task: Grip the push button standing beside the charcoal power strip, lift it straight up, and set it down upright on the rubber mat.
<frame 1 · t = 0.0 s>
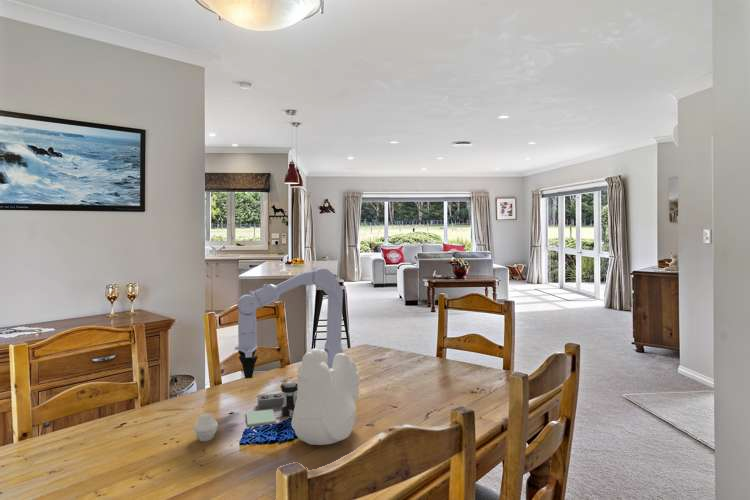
hand: (248, 374, 149), 10 cm above the table, tool pointing down, fingers open, 7 cm apart
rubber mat: (260, 418, 139), on the table
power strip: (286, 404, 151), on the table
grey rounded lump: (206, 439, 125), on the table
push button: (287, 415, 141), on the table
white rounded upright lump: (333, 436, 126), on the table
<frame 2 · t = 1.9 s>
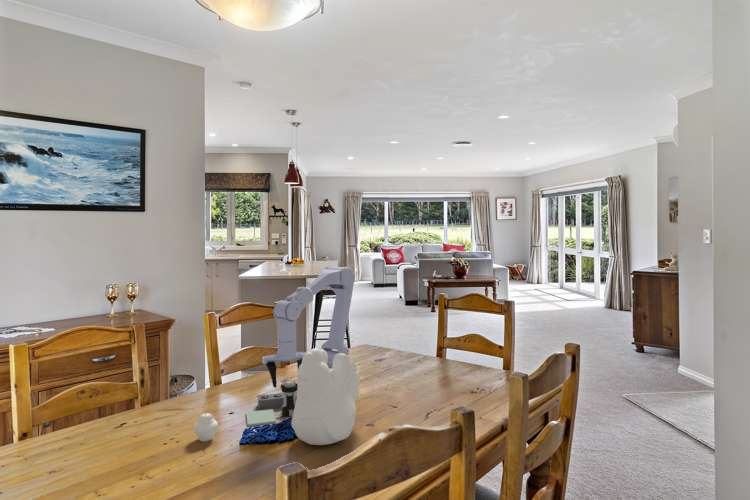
hand: (287, 384, 141), 9 cm above the table, tool pointing down, fingers open, 7 cm apart
nothing on the table moved.
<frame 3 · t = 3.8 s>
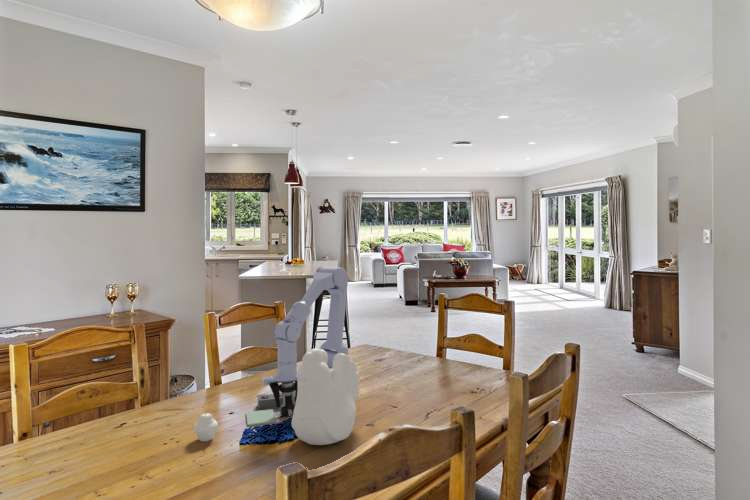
hand: (287, 405, 141), 3 cm above the table, tool pointing down, fingers closed on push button, 5 cm apart
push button: (286, 415, 141), on the table, touching gripper
everything else where it was.
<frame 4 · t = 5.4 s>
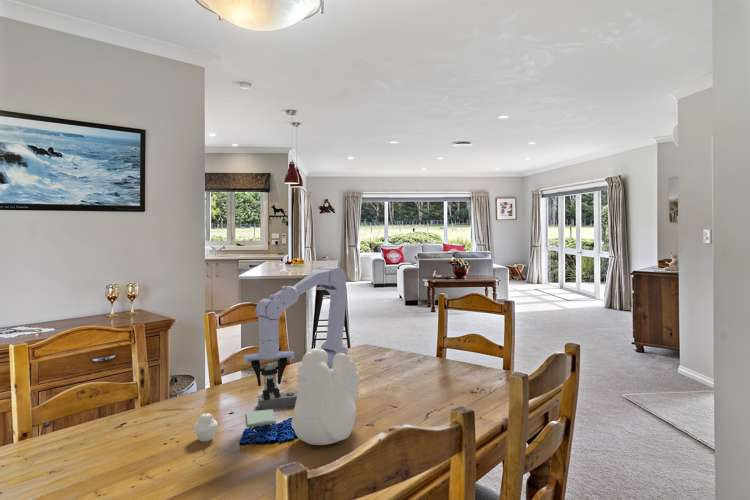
hand: (269, 384, 140), 10 cm above the table, tool pointing down, fingers closed on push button, 5 cm apart
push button: (269, 399, 139), point 6 cm above the table, touching gripper
everything else where it was.
when the fingers open (4 cm above the table, at t = 7.2 s): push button stays where it is, resting on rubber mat.
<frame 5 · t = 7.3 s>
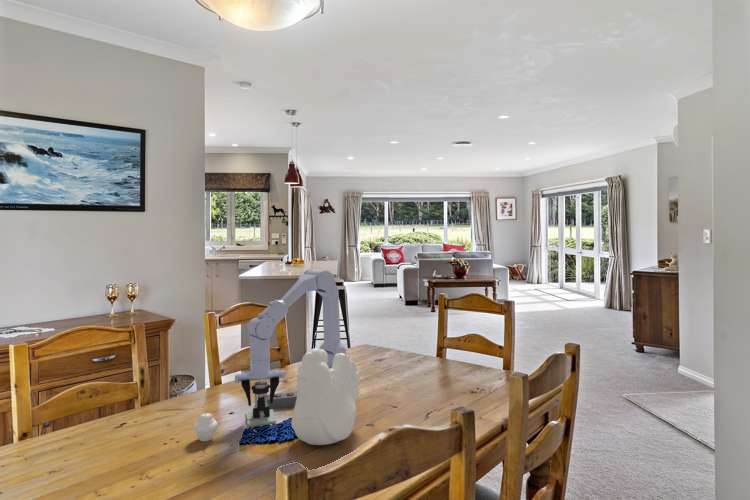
hand: (260, 403, 139), 4 cm above the table, tool pointing down, fingers open, 6 cm apart
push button: (258, 417, 139), resting on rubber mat
everything else where it was.
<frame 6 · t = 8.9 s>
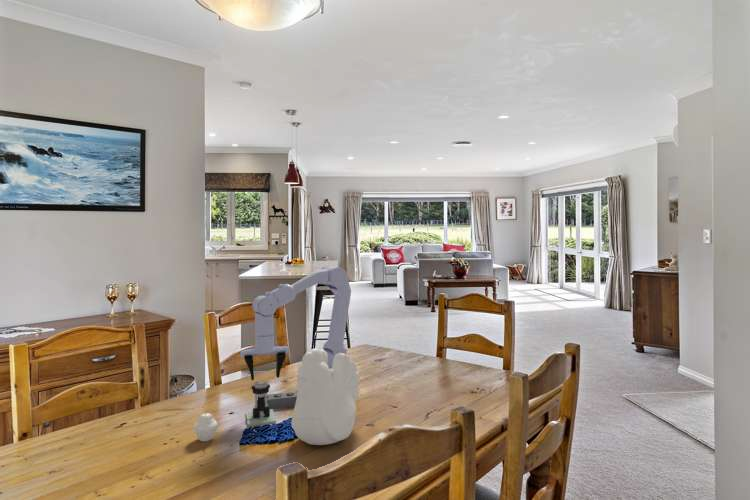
hand: (265, 378, 145), 10 cm above the table, tool pointing down, fingers open, 7 cm apart
nothing on the table moved.
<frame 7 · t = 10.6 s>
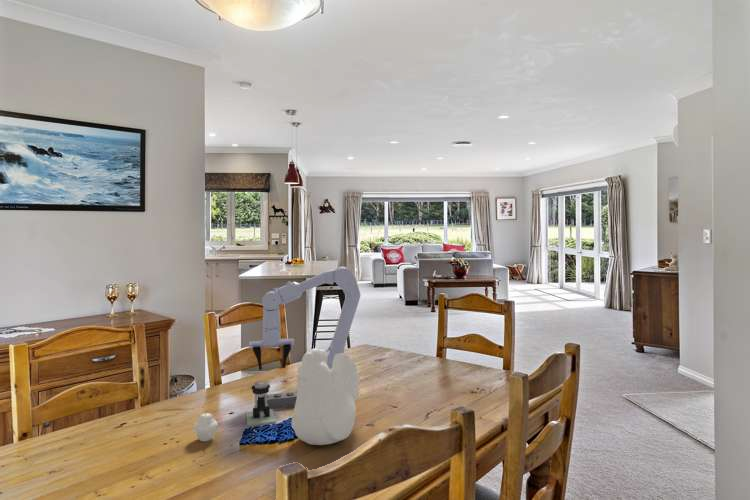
hand: (272, 368, 156), 10 cm above the table, tool pointing down, fingers open, 7 cm apart
nothing on the table moved.
at the end: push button inside the target area on the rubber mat (0.6 cm from its centre), point 0.4 cm above the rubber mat's base; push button tilted 0°; the gripper is holding nothing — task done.
